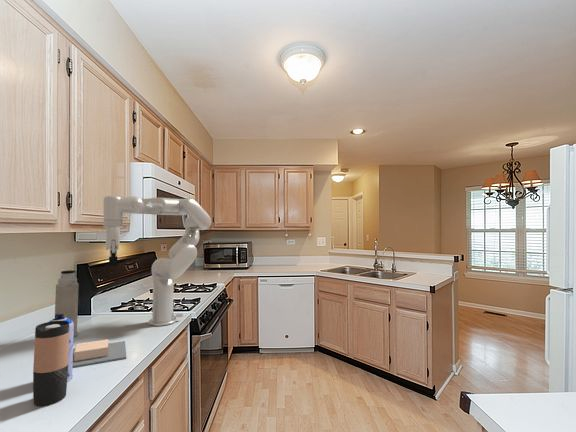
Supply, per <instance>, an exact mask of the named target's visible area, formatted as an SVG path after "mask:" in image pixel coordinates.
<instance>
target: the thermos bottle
mask: <svg viewBox="0 0 576 432" xmlns="http://www.w3.org/2000/svg"><path fill="white" fill-rule="evenodd" d="M75 275H76V271H75V270H72V269H71V270H70V269H69V270H63V271H62V270H61V272H60V278H58V279H57V284H56V285H55V297H54V298H55V302H54V315H55V314H64V317H66V318H69V319H70V320H71V321H73V324H74V336H73V338H76V337H77V335H78V317H79V315H78V313H79V312H78V311H79V308H78V307H79V282H78V278H77V277H75Z"/></svg>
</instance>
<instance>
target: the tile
mask: <svg viewBox="0 0 576 432" xmlns="http://www.w3.org/2000/svg"><path fill="white" fill-rule="evenodd" d="M108 343H109V339H108V338H107V339H101V340H95V341H88V342H80V343H77V344H76V346H75V348H76V349H75V355H74V361H81V360H87V359H93V358H99V357H105V356H108Z"/></svg>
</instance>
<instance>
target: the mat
mask: <svg viewBox="0 0 576 432" xmlns="http://www.w3.org/2000/svg"><path fill="white" fill-rule="evenodd" d="M75 349H76V347H75V348H74V347H73V365H72V369H74V368H80V367H86V366H91V365H96V364H97V365H98V364H102V363H109V362H114V361H120V360H126V359H127V349H126V341H125V340H123V341H121V340H120V341H116V342H115V341H114V342H110V343H109V342H108V356H105V357H99V358H93V359H87V360H81V361H74V355H75Z"/></svg>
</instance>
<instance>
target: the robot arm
mask: <svg viewBox="0 0 576 432" xmlns="http://www.w3.org/2000/svg"><path fill="white" fill-rule="evenodd" d="M124 214H129V215H131V214H133V215H134V214H135V215H138V214H139V215H142V214H143V215H155V216H156V215H157V216H159V215H160V216H187V217H186V218H185V221H184V226H185V227H184V228H185V229H184V230H185V231H184V234H183V235H182V236H181V237H180V238H179V239H178V240H177V241H176V242H175V243H174V244H173V245H172V246H171V247H170V249H169V251H168V257H160V258H157V259H155V261H154V262H153V263H152V264H151V276H152V277H151V278H152V310H151V311H152V313H151V315H152V318H151V319H149V320H148V325H150V326H154V327H162V326H169V325H172V324H174V323H176V322H177V318H183V316H184V313H183V312H175V311H174V289H175V288H174V280H176V279H178V278H180V277H181V276H182V275H183V274H184V273H185V272H186V271H187V269H188V268H190V266H191V265H192V264H193V263H194V262H195V260H196V258H197V256H198V249H197V247H196V246H197V244H198V243H199V241H200V231H205V230H208V229H209V228H210V227H211V226H212V219H211V217H210V215H209V214H208V212H207V211H206V210H205V209H204V208H203V206H201V205H200V204H199V202H197V201H196V200H195V199H193V198H189V197H188V198H171V197H152V198H151V197H149V198H140V197H137V196H134V195H133V196H117V195H106V196H105V197H103V225H102V226H103V228H105V250H106V251H108V250H109V257H108V266H109V267H118V250H119V249H120V240H121V237H120V236H121V228H124Z"/></svg>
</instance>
